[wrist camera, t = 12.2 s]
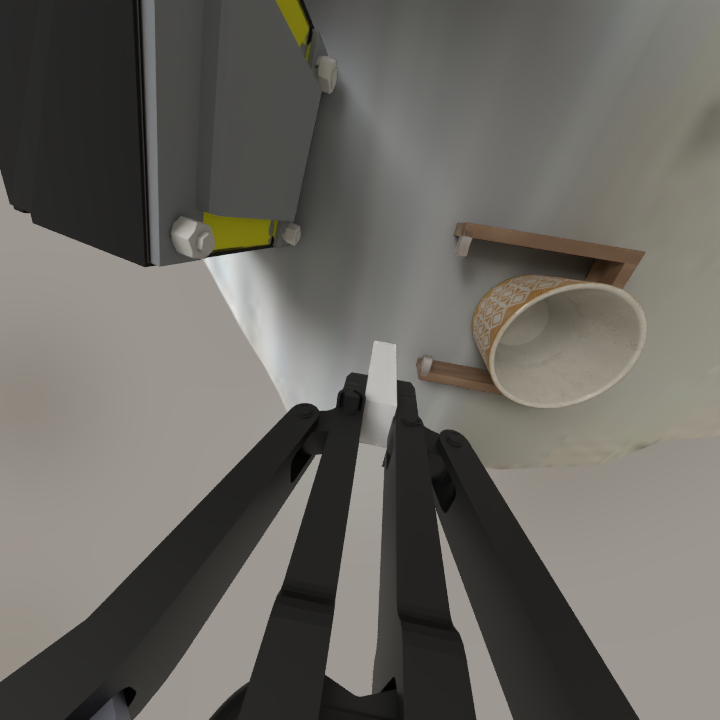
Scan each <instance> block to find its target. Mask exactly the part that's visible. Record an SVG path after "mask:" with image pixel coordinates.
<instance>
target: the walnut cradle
mask: <svg viewBox="0 0 720 720" xmlns="http://www.w3.org/2000/svg"><path fill="white" fill-rule="evenodd" d="M454 235H456V236H459V240H458V243H457V246H456V250H455V253H454V254H455V255H458V256H464V257H466V256H467V253H468V250H469V247H470V243H471V240H472V238H474V239H480V240H486V241H492V242H498V243H504V244H511V245H517V246H523V247H529V248H535V249H541V250H547V251H553V252H559V253H565V254H571V255H577V256H583V257H589V258H595V259H596V260H595V262H594V264H593V265H592V267H591V269H590V271H589V273H588V274H587V276H586V278H585V280H584V281H587V282H595V283H602V284H608V285H611V286H615V287H617V288H620V289H623V287H624V286H625V284H626V283H627V281H628V279H629V278H630V276H631V275H632V273H633V271H634V270H635V268H636V267H637V265H638V264H639V262H640V260H641V259H642V257H643V256H644V254H645V252H643V251H637V250H631V249H625V248H619V247H612V246H606V245H600V244H594V243H588V242H582V241H576V240H570V239H564V238H558V237H551V236H545V235H539V234H533V233H527V232H521V231H515V230H509V229H503V228H497V227H490V226H484V225H478V224H472V223H457V226H456V230H455V233H454ZM416 366H417V372H418V378H419V379H421V380H426V381H431V382H437V383H442V384H447V385H453V386H458V387H463V388H469V389H474V390H480V391H485V392H490V393H496V394H501V395H503V394H502V393H501V392H500V391H499V390H498V388H497V387H496V385H495V384H494V382H493V380H492V378H491V375H490V373H489V371H488V370H483V369H478V368H472V367H467V366H461V365H456V364H450V363H445V362H440V361H434V360H432V357H431V356H425V355H424V356H423V358H418V361H417V364H416Z"/></svg>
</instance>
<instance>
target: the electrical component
mask: <svg viewBox="0 0 720 720" xmlns="http://www.w3.org/2000/svg"><path fill="white" fill-rule="evenodd" d="M336 80H337V64H336V60H334V59H332V58H330V57H328V55H327V52H326V49H325V47H324V44H323V41H322V39H321V36H320V33H319V31H318V30H316V29H314V26H313V24H312V21H311V19H310V16H309V14H308V11H307V9H306V6H305V4H304V1H303V0H0V170H1V174H2V177H3V181H4V184H5V188H6V192H7V195H8V199H9V202H10V204H11V205H13V206H14V209H15V210H18V211H20V212H23V213H31V217H32V221H33V223H34V224H37V225H39V226H42V227H44V228H47V229H49V230H52V231H54V232H57V233H59V234H62V235H65V236H67V237H70V238H72V239H75V240H77V241H80V242H82V243H85V244H87V245H90V246H93V247H95V248H98V249H100V250H103V251H105V252H108V253H110V254H113V255H115V256H118V257H120V258H123V259H126V260H128V261H131V262H133V263H136V264H138V265H141V266H143V267H149V266H156V265H157V266H165V265H171V264H178V263H184V262H190V261H196V260H201V259H205V258H207V257H213V256H220V255H226V254H233V253H239V252H246V251H252V250H258V249H265V248H271V247H282V246H288V243H289V244H291V245H293V246H295V245H296V244H297V243H298V241H299V239H300V235H301V232H300V231H301V228H300V227H299V225H297V224H294V223H293V221H294V220H295V215H296V210H297V206H298V201H299V196H300V192H301V187H302V182H303V178H304V173H305V168H306V164H307V159H308V154H309V150H310V145H311V140H312V136H313V131H314V126H315V122H316V117H317V112H318V108H319V103H320V98H321V94H322V91H323V92H326V93H328V94H330V93H332V91H333V89H334V87H335V84H336Z"/></svg>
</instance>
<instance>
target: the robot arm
mask: <svg viewBox="0 0 720 720" xmlns="http://www.w3.org/2000/svg"><path fill="white" fill-rule="evenodd" d="M359 442H360V443H365V444H370V445H375V446H381V447H386V444H387V451H386V454H385V458H384V461H383V465H382V467H385V468H384V491H383V492H384V493H383V518H382V540H381V565H380V566H381V567H380V591H379V616H378V638H377V650H376V655H375V661H374V670H373V684H372V695H367V696H363V697H358V696H355V695H353V694H352V693H350V692H349V691H348V690H346V689H345V688H343V687H342V686H340V685H339V684H338V683H336V682H335V681H333V680H332V679H330V678H329V677H327V676H326V675H325V669H326V663H327V656H328V649H329V642H330V636H331V629H332V622H333V615H334V608H335V597H336V591H337V584H338V577H339V570H340V564H341V558H342V551H343V544H344V538H345V531H346V524H347V518H348V511H349V505H350V498H351V492H352V485H353V479H354V472H355V465H356V459H357V452H358V445H359ZM317 454H322V456H321V460H320V463H319V466H318V470H317V473H316V476H315V480H314V483H313V486H312V490H311V493H310V496H309V499H308V503H307V506H306V509H305V513H304V516H303V519H302V523H301V526H300V529H299V533H298V536H297V540H296V543H295V546H294V549H293V553H292V556H291V559H290V563H289V566H288V569H287V573H286V576H285V579H284V582H283V585H282V588H281V590H280V592H279V593H278V595H277V597H276V600H275V602H274V605H273V608H272V611H271V614H270V617H269V621H268V624H267V627H266V630H265V634H264V637H263V640H262V643H261V646H260V650H259V653H258V656H257V659H256V662H255V665H254V669H253V672H252V675H251V678H250V682H248V683H246V684H245V685H244V686H242V687H241V688H240V689H238V690H237V691H236V692H234V693H233V695H231V696H230V697H229V698H228V699H227V700H226V701H225V702H224V703H223V704H222V705H221V706H220V707H219V709H218V710H217V711H216V712H215V713H214V714H213V715H212V717H211V718H210V719H209V720H476V714H475V709H474V703H473V696H472V690H471V684H470V678H469V672H468V666H467V660H466V655H465V650H464V645H463V643H462V639H461V637H460V634H459V632H458V631H457V630H456V629H455V627H454V626H453V623H452V620H451V616H450V610H449V602H448V596H447V589H446V582H445V574H444V567H443V560H442V553H441V546H440V539H439V532H438V525H437V518H436V511H437V513H438V516H439V519H440V522H441V525H442V527H443V530H444V533H445V535H446V538H447V541H448V543H449V546H450V549H451V552H452V554H453V557H454V560H455V562H456V565H457V568H458V571H459V573H460V576H461V579H462V581H463V584H464V587H465V590H466V592H467V595H468V597H469V600H470V603H471V606H472V608H473V611H474V614H475V617H476V619H477V622H478V625H479V627H480V630H481V632H482V635H483V638H484V641H485V643H486V646H487V649H488V652H489V654H490V657H491V660H492V663H493V665H494V668H495V671H496V673H497V676H498V679H499V681H500V684H501V687H502V690H503V692H504V695H505V698H506V701H507V703H508V706H509V709H510V711H511V714H512V717H513V720H639V718H638V716H637V715H636V713H635V711H634V710H633V708H632V707H631V705H630V703H629V702H628V700H627V699H626V697H625V695H624V694H623V692H622V690H621V689H620V687H619V685H618V684H617V682H616V681H615V679H614V678H613V676H612V674H611V673H610V671H609V669H608V668H607V666H606V664H605V663H604V661H603V659H602V658H601V656H600V655H599V653H598V651H597V650H596V648H595V647H594V645H593V643H592V642H591V640H590V638H589V637H588V635H587V633H586V632H585V630H584V629H583V627H582V625H581V624H580V622H579V620H578V619H577V617H576V616H575V614H574V612H573V611H572V609H571V608H570V606H569V605H568V603H567V601H566V599H565V598H564V596H563V595H562V593H561V591H560V590H559V588H558V586H557V585H556V583H555V582H554V580H553V578H552V577H551V575H550V573H549V572H548V570H547V569H546V567H545V565H544V564H543V562H542V560H541V559H540V558H539V556H538V554H537V552H536V551H535V549H534V547H533V546H532V544H531V543H530V541H529V539H528V538H527V536H526V534H525V533H524V531H523V530H522V528H521V526H520V525H519V523H518V521H517V520H516V518H515V517H514V515H513V513H512V512H511V510H510V508H509V507H508V505H507V504H506V502H505V500H504V499H503V497H502V495H501V494H500V492H499V491H498V489H497V487H496V486H495V484H494V482H493V481H492V479H491V478H490V476H489V474H488V473H487V471H486V469H485V468H484V466H483V465H482V463H481V461H480V460H479V458H478V456H477V455H476V453H475V452H474V450H473V448H472V447H471V445H470V443H469V442H468V440H467V439H466V438H465V437H464V436H463V435H462V434H460V433H458V432H456V431H454V430H443V431H442V432H440V434H438V433H436V432H434V431H431V430H430V429H428V428H426V427H425V426H424V425H423V422H422V420H421V419H420V418H419V417H418V410H417V402H416V395H415V388H414V387H413V385H412V384H411V383H410V382H405V381H399V380H397V375H396V344H391V343H386V342H380V341H375V340H374V344H373V349H372V355H371V360H370V365H369V371H368V375H364V374H358V373H353V372H352V373H350V374H349V375H348V376H347V378H346V381H345V385H344V388H343V389H342V390H341V391H340V392H339V393H338V397H337V405H336V407H335V408H334V409H332V410H328V411H319V410H318V408H317V407H316V406H314V405H312V404H308V403H301V404H298V405H295V406H294V407H293V408H291V409H290V411H289V412H288V413H287V414H286V415H285V416H284V417H283V418H282V419H281V420H280V421H279V422H278V423H277V424H276V425H275V426H274V427H273V428H272V429H271V430H270V431H269V432H268V433H267V434H266V435H265V436H264V437H263V438H262V439H261V440H260V441H259V442H258V444H256V446H255V447H254V448H253V449H252V450H251V451H250V452H249V453H248V454H247V455H246V456H245V457H244V458H243V459H242V460H241V461H240V462H239V463H238V464H237V465H236V466H235V467H234V468H233V469H232V470H231V471H230V472H229V473H228V474H227V475H226V476H225V478H223V479H222V480H221V482H220V483H219V484H218V485H217V486H216V487H215V488H214V489H213V490H212V491H211V492H210V493H209V494H208V495H207V496H206V497H205V498H204V499H203V500H202V501H201V502H200V503H199V504H198V505H197V506H196V507H195V508H194V509H193V510H192V511H191V512H190V513H189V515H187V516H186V518H185V519H184V520H183V521H182V522H181V523H180V524H179V525H178V526H177V527H176V528H175V529H174V530H173V531H172V532H171V533H170V534H169V535H168V536H167V537H166V538H165V539H164V540H163V541H162V542H161V543H160V544H159V545H158V546H157V547H156V548H155V549H154V550H153V551H152V553H151V554H150V555H149V556H148V557H147V558H146V559H145V560H144V561H143V562H142V563H141V564H140V565H139V566H138V567H137V568H136V569H135V570H134V571H133V572H132V573H131V574H130V575H129V576H128V577H127V578H126V579H125V580H124V581H123V582H122V583H121V584H120V585H119V586H118V587H117V589H116V590H115V591H114V592H113V593H112V594H111V595H110V596H109V597H108V598H107V599H106V600H105V601H104V602H103V603H102V604H101V605H100V606H99V607H98V608H97V609H96V610H95V611H94V612H93V613H92V614H91V615H90V616H89V617H88V618H87V619H86V620H85V621H83V622H82V623H81V624H79V625H78V626H76V627H75V628H74V629H72V630H71V631H70V632H68V633H67V634H65V635H64V636H63V637H61V638H60V639H59V640H57V641H56V642H55V643H53V644H52V645H50V646H49V647H48V648H46V649H45V650H44V651H42V652H41V653H40V654H38V655H37V656H35V657H34V658H33V659H31V660H30V661H29V662H27V663H26V664H25V665H23V666H22V667H20V668H19V669H18V670H16V671H15V672H13V673H12V674H11V675H9V676H8V677H7V678H5V679H4V680H3V681H1V682H0V720H133V719H134V718H135V717H136V716H137V715H138V714H139V713H140V712H141V711H142V709H143V708H144V707H145V706H146V704H147V703H148V702H149V701H150V699H151V698H152V697H153V696H154V694H155V693H156V692H157V691H158V690H159V688H160V687H161V686H162V685H163V683H164V682H165V681H166V679H167V678H168V677H169V675H170V674H171V672H172V671H173V670H174V668H175V667H176V665H177V664H178V662H179V661H180V660H181V658H182V657H183V655H184V654H185V653H186V651H187V650H188V648H189V646H190V645H191V643H192V642H193V640H194V639H195V637H196V636H197V634H198V633H199V631H200V630H201V628H202V627H203V625H204V624H205V622H206V621H207V619H208V618H209V616H210V615H211V613H212V611H213V610H214V609H215V607H216V605H217V604H218V603H219V601H220V599H221V598H222V596H223V595H224V594H225V592H226V590H227V589H228V587H229V586H230V584H231V583H232V581H233V580H234V578H235V577H236V575H237V574H238V572H239V571H240V569H241V568H242V566H243V565H244V563H245V562H246V560H247V559H248V557H249V556H250V554H251V553H252V551H253V550H254V548H255V547H256V545H257V543H258V542H259V541H260V539H261V537H262V536H263V534H264V533H265V531H266V530H267V528H268V527H269V525H270V524H271V522H272V521H273V519H274V518H275V516H276V515H277V513H278V512H279V510H280V509H281V507H282V506H283V504H284V503H285V501H286V500H287V498H288V497H289V495H290V494H291V492H292V491H293V489H294V487H295V486H296V484H297V483H298V481H299V480H300V478H301V477H302V475H303V474H304V472H305V471H306V469H307V468H308V466H309V465H310V463H311V462H312V460H313V459H314V457H315V455H317ZM435 508H436V510H435Z"/></svg>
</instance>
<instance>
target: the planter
mask: <svg viewBox="0 0 720 720" xmlns="http://www.w3.org/2000/svg"><path fill="white" fill-rule="evenodd" d="M472 334H473V338H474V340H475V343H476V345H477V347H478V349H479V351H480V353H481V356H482V358H483V360H484V362H485V364H486V367H487V369H488V371H489V373H490V375H491V378H492V380H493V382H494V384H495V385H496V387H497V388H498V390H499V391H500V392H501V393H502V394H503V395H505V396H506V397H507V398H509V399H510V400H512V401H514V402H516V403H518V404H521V405H524V406H528V407H534V408H560V407H566V406H570V405H574V404H578V403H581V402H584V401H586V400H589V399H591V398H593V397H595V396H597V395H599V394H601V393H603V392H604V391H606V390H607V389H609V388H610V387H612V386H613V385H614V384H616V383H617V382H618V381H619V380H620V379H621V378H623V377H624V376H625V375H626V374H627V372H628V371H629V370H630V369H631V368H632V366H633V365H634V364H635V362H636V361H637V359H638V358H639V356H640V354H641V352H642V350H643V347H644V344H645V341H646V336H647V322H646V317H645V314H644V311H643V309H642V307H641V306H640V304H639V303H638V301H637V300H636V299H635V298H634V297H633V296H631V295H630V294H629V293H627V292H626V291H624V290H622V289H620V288H617V287H615V286H611V285H608V284H602V283H595V282H587V281H580V280H572V279H565V278H557V277H549V276H542V275H522V276H517V277H514V278H511V279H508V280H506V281H504V282H502V283H500V284H498V285H497V286H495V287H494V288H493V289H491V290H490V291H489V292H488V293H487V294H486V295H485V296H484V297H483V298H482V300H481V301H480V303H479V304H478V306H477V308H476V310H475V312H474V315H473V319H472Z"/></svg>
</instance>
